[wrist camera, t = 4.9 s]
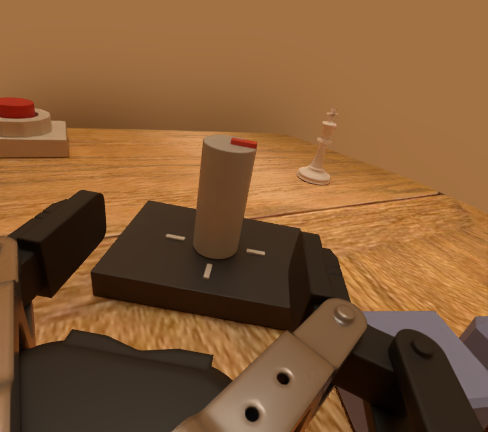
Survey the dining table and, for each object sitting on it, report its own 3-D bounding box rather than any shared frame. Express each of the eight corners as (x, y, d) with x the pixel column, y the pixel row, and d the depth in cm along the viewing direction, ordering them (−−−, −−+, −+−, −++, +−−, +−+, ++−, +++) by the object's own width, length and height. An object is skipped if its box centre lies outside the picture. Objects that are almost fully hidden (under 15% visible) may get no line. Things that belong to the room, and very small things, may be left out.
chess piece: (336, 184, 44) (360, 114, 39) (310, 186, 42) (332, 112, 37) (315, 170, 48) (335, 105, 43) (290, 171, 46) (308, 102, 41)
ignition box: (-39, 158, 32) (-51, 120, 30) (-24, 135, 38) (-33, 102, 36) (68, 157, 37) (64, 124, 35) (67, 136, 43) (63, 107, 41)
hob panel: (92, 295, 20) (89, 269, 18) (148, 218, 28) (148, 198, 27) (304, 333, 20) (314, 310, 19) (294, 246, 28) (300, 226, 27)
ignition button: (-9, 120, 33) (-13, 104, 33) (-3, 111, 36) (-7, 96, 36) (35, 122, 35) (32, 106, 34) (37, 113, 38) (34, 98, 37)
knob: (188, 254, 21) (198, 140, 17) (198, 229, 24) (209, 126, 20) (235, 263, 21) (256, 151, 17) (239, 237, 24) (258, 136, 20)
